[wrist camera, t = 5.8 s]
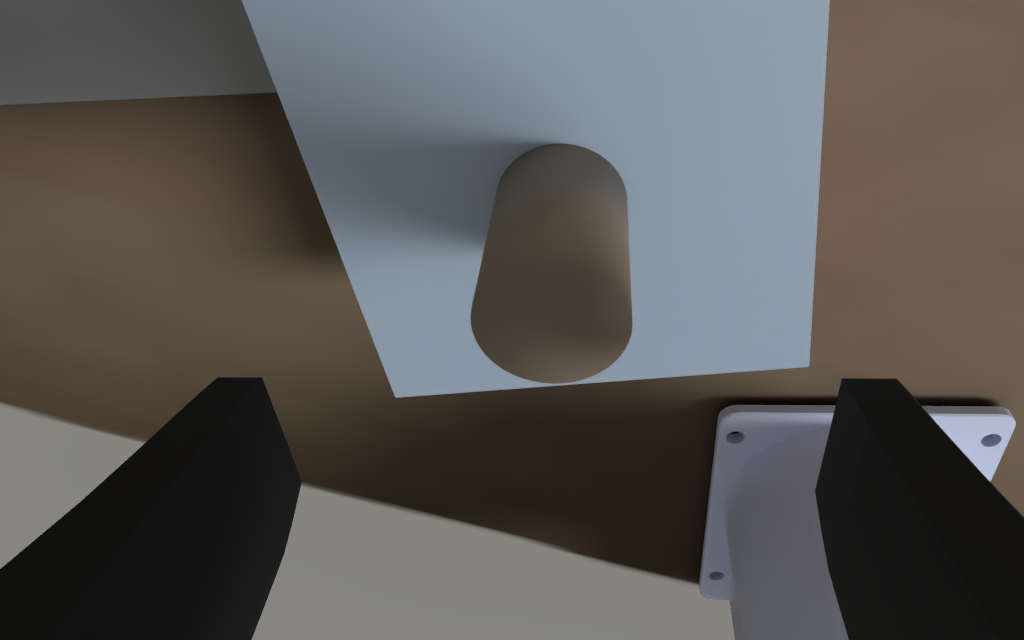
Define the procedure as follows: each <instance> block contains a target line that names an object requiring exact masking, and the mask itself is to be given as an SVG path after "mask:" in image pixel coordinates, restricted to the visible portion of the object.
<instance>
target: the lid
mask: <svg viewBox="0 0 1024 640" xmlns="http://www.w3.org/2000/svg"><path fill="white" fill-rule="evenodd" d="M242 3H243V5H244V8H245V10H246V13H247V16H248V18H249V21H250V23H251V26H252V28H253V31H254V34H255V36H256V39H257V41H258V44H259V47H260V49H261V52H262V54H263V57H264V59H265V62H266V65H267V67H268V70H269V72H270V75H271V78H272V80H273V83H274V85H275V88H276V90H277V93H278V96H279V98H280V101H281V103H282V106H283V109H284V111H285V114H286V116H287V119H288V121H289V124H290V127H291V129H292V132H293V134H294V137H295V140H296V142H297V145H298V147H299V150H300V152H301V155H302V158H303V160H304V163H305V165H306V168H307V171H308V173H309V176H310V178H311V181H312V183H313V186H314V189H315V191H316V194H317V196H318V199H319V202H320V204H321V207H322V209H323V212H324V215H325V217H326V220H327V222H328V225H329V227H330V230H331V233H332V235H333V238H334V240H335V243H336V246H337V248H338V251H339V253H340V256H341V258H342V261H343V264H344V266H345V269H346V271H347V274H348V277H349V279H350V282H351V284H352V287H353V289H354V292H355V295H356V297H357V300H358V302H359V305H360V308H361V310H362V313H363V315H364V318H365V320H366V323H367V326H368V328H369V331H370V333H371V336H372V339H373V341H374V344H375V346H376V349H377V351H378V354H379V357H380V359H381V362H382V364H383V367H384V370H385V372H386V375H387V377H388V380H389V382H390V385H391V388H392V390H393V393H394V395H395V398H398V397H412V396H425V395H438V394H452V393H465V392H478V391H492V390H505V389H519V388H532V387H545V386H559V385H572V384H585V383H599V382H612V381H626V380H639V379H652V378H666V377H679V376H692V375H706V374H719V373H732V372H746V371H759V370H773V369H786V368H799V367H809V361H810V343H811V325H812V307H813V290H814V272H815V254H816V236H817V218H818V200H819V182H820V164H821V146H822V128H823V110H824V92H825V74H826V56H827V38H828V20H829V3H830V0H242Z"/></svg>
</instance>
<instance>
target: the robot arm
mask: <svg viewBox="0 0 1024 640" xmlns="http://www.w3.org/2000/svg"><path fill="white" fill-rule="evenodd" d="M1015 424H1016V422H1015V420H1014V418H1013V416H1012V415H1011V413H1010V411H1009V410H1008V409H1006V408H1004V407H998V406H921V405H920V404H919V403H918V401H917V400H916V399H915V398H914V397H913V396H912V395H911V394H910V393H909V391H908V390H907V389H906V388H905V387H904V386H903V385H902V384H901V383H900V382H899V381H898V380H897V379H842V381H841V385H840V389H839V393H838V398H837V402H836V405H732V406H728V407H726V408H724V409H723V410H722V411H721V412H720V413H719V416H718V421H717V430H716V439H715V448H714V456H713V465H712V474H711V483H710V492H709V500H708V509H707V518H706V527H705V536H704V545H703V553H702V562H701V571H700V580H699V587H700V593H701V595H702V596H704V597H706V598H708V599H714V600H730V606H731V613H732V621H733V628H734V635H735V640H1024V517H1023V516H1022V515H1021V514H1020V513H1019V511H1018V510H1017V509H1016V508H1015V507H1014V506H1013V505H1012V504H1011V503H1010V502H1009V501H1008V500H1007V499H1006V498H1005V497H1004V496H1003V495H1002V494H1001V493H1000V492H999V491H998V490H997V489H996V488H995V486H994V485H993V484H992V483H991V482H990V481H991V479H992V477H993V475H994V473H995V470H996V468H997V466H998V464H999V462H1000V459H1001V457H1002V455H1003V453H1004V450H1005V448H1006V446H1007V444H1008V442H1009V439H1010V437H1011V435H1012V433H1013V431H1014V428H1015ZM735 431H737V432H739V433H736V434H730V433H731V432H735ZM990 434H991V435H990ZM987 435H989V436H987ZM301 482H302V481H301V478H300V476H299V473H298V471H297V468H296V465H295V463H294V460H293V457H292V455H291V452H290V450H289V447H288V444H287V442H286V439H285V436H284V434H283V431H282V429H281V426H280V423H279V421H278V418H277V416H276V413H275V410H274V408H273V405H272V402H271V400H270V397H269V395H268V392H267V389H266V387H265V384H264V381H263V379H262V378H217V379H216V380H214V381H213V382H212V383H211V384H210V385H209V386H207V387H206V388H205V389H204V390H203V391H202V392H200V393H199V394H198V395H197V396H196V397H195V398H194V399H193V400H192V401H190V402H189V403H188V404H187V405H186V406H185V407H184V408H183V409H182V410H181V411H180V412H178V413H177V414H176V415H175V416H174V417H173V418H172V419H171V420H170V421H169V422H168V423H167V424H165V425H164V426H163V427H162V428H161V429H160V430H159V431H158V432H157V433H156V434H155V435H154V436H152V437H151V438H150V439H149V440H148V441H147V442H146V443H145V444H144V445H143V446H142V447H141V448H140V449H139V450H137V451H136V452H135V453H134V454H133V455H132V456H131V457H130V458H128V460H126V461H125V462H124V463H123V464H122V465H121V466H120V467H119V468H117V469H116V470H115V471H114V472H113V473H112V474H111V475H110V476H109V477H107V478H106V479H105V480H104V481H103V482H102V483H101V484H100V485H99V486H98V487H96V488H95V489H94V490H93V491H92V492H91V493H90V494H89V495H88V496H86V497H85V498H84V499H83V500H82V501H81V502H80V503H79V504H77V505H76V506H75V507H74V508H73V509H71V510H70V511H69V512H68V513H67V514H65V515H64V516H63V517H62V518H61V519H60V520H58V521H57V522H56V523H55V524H54V525H52V526H51V527H50V528H49V529H48V530H46V531H45V532H44V533H43V534H42V535H40V536H39V537H38V538H37V539H36V540H35V541H33V542H32V543H31V544H30V545H29V546H28V547H26V548H25V549H24V550H23V551H21V552H20V553H19V554H18V555H17V556H16V557H14V558H13V559H12V560H11V561H10V562H8V563H7V564H6V565H5V566H4V567H2V568H1V569H0V640H251V639H252V637H253V634H254V632H255V629H256V626H257V624H258V621H259V619H260V616H261V613H262V611H263V608H264V606H265V603H266V600H267V598H268V595H269V593H270V590H271V587H272V585H273V582H274V579H275V577H276V574H277V571H278V568H279V566H280V563H281V560H282V558H283V555H284V552H285V548H286V544H287V540H288V537H289V533H290V529H291V525H292V521H293V517H294V513H295V508H296V503H297V499H298V495H299V491H300V486H301Z"/></svg>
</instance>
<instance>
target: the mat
mask: <svg viewBox="0 0 1024 640" xmlns="http://www.w3.org/2000/svg"><path fill="white" fill-rule="evenodd" d="M276 92H277V90H276V88H275V85H274V83H273V80H272V78H271V75H270V72H269V70H268V67H267V65H266V62H265V59H264V57H263V54H262V52H261V49H260V47H259V44H258V41H257V39H256V36H255V34H254V31H253V28H252V26H251V23H250V21H249V18H248V16H247V13H246V10H245V8H244V5H243V3H242V0H0V105H11V104H33V103H55V102H77V101H99V100H122V99H144V98H166V97H188V96H210V95H232V94H254V93H276Z"/></svg>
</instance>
